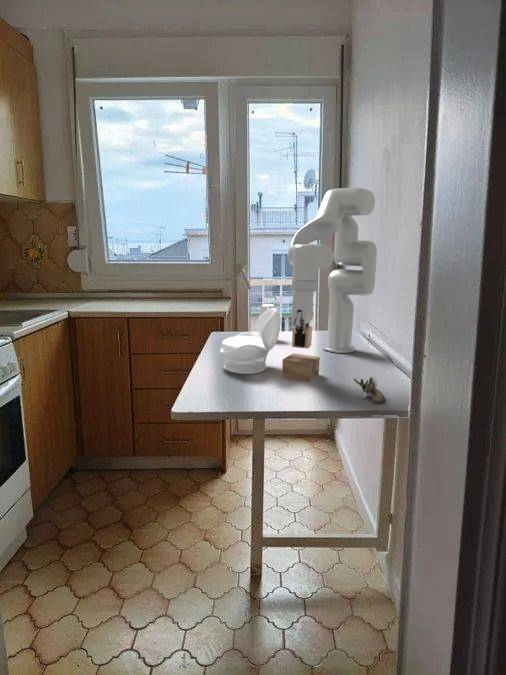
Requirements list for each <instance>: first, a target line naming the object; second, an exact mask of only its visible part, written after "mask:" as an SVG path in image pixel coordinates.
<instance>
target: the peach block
mask: <svg viewBox="0 0 506 675" xmlns="http://www.w3.org/2000/svg"><path fill="white" fill-rule="evenodd" d="M295 327H296V326H295V325H294V326H293V327H292V340H291V343H292V344H291V348H297V349H299V348H300V349H310V348H311V346H312V339H313V336H312V335H313V326H311V325H309V326H305V333H304V334H306V335H305V346H304V347H298V346H295V345H294V342H295ZM302 329H303V326H302Z"/></svg>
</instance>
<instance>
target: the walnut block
mask: <svg viewBox="0 0 506 675" xmlns="http://www.w3.org/2000/svg"><path fill="white" fill-rule="evenodd" d="M320 358H321V357H320V356H315V355H309V354H300V353H292V354H290V355H288V356H286V357H284V358H283V359H282V362H281V363H282V364H281V367H282V369H281V372H282V373H281V378H284V379H289V380H296V381H302V382H308V383H310V382H311V381H312V380H314V379H315V378H317V377H318V376H319V374H320Z"/></svg>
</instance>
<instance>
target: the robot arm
mask: <svg viewBox="0 0 506 675" xmlns="http://www.w3.org/2000/svg"><path fill="white" fill-rule="evenodd" d="M375 206H376V198H375V194H374V193H373V192H372V190H369V189H365V188H362V187H340V188H339V187H338V188H332V189H329V190H327V192H326V193H325V194H324V196H323V198H322V201H321V203H320V205H319V208H318V210H317V213H316V215H315V218H314V219H312V220H311V221H309V222H307V223H306V224H305V225H304V226H302V227H301V228H300V229H298V231H296V233H295V234H294V236H293V237H292V240H291V242H290V244H289V248H288V251H287V261H288V263H289V265H290V266H291V267H292V277H291V278H292V279H291V280H292V281H291V291H292V292H293V295H292V302H291V303H292V304H291V314H290V323H291V324H295V325H294V327H295V326H296V327H295V342H294V345H295V346H298V347H304V346H305V335H306V334H304V333H305V326H310V323H311V321H312V320H313V315H314V314H313V313H314V312H313V311H314V293H317V291H318V290H317V289H318V274H319V273H318V270H319V269H320V270H324V269H327V268H329V267H330V266H331V265H332V264H333V261H334V263H335V264H336V265H339V266H344V267H345V266H346V267H348V266H349V267H361V269H345V268H340V269H339V268H338V269H335V270H332V271H331V272H330V273H329V274H328V277H327V284H328V285H327V286H328V294H329V295H328V296H329V299H328V301H329V302H328V320H327V321H328V322H327V335H326V338H327V340H326V343H325V344H323V346H322V349H323V350H324V351H327V352H330V353H334V354H335V353H336V354H337V353H339V354H348V353H349V354H350V353H353V352H354V353H355V351H356V346H354V345H352V343H353V340H352V339H353V327H354V326H353V325H354V309H355V308H354V302H353V301H352V299H351V298H350V296H363V297H364V296H365V297H366V296H370V295H371V294H373V292H374V290H375V284H376V283H375V282H376V272H377V259H378V256H377V255H378V249H377V246H376V244H375V243H374V242H373V241H370V240H359V238H358V237H359V225H358V223H357V221H356V219H354V217H353V216H369V215H371V214H372V213H373V211H374V209H375ZM333 235H334V244H333V248H334V249H332V248H331V246H329V245H326V244H323V243H322V244H318V243H317V244H315V243H313V242H316V241H319V240H323V239H326V238H328V237H331V236H333ZM302 326H303V329H302Z"/></svg>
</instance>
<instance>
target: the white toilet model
mask: <svg viewBox="0 0 506 675" xmlns="http://www.w3.org/2000/svg"><path fill="white" fill-rule="evenodd" d="M270 312H271V313H270ZM267 313H268V314H267ZM265 314H266V315H265ZM270 314H272V315H270ZM280 314H281V313H280V312H279V310H278V309H277V308H276V309H275V308H271V309H268V310H266V311H265V312H263V313H262V314H261V315H260V314H259V317H258V319H257V320H256V330H257V332H258V335H259V337H258V336H256V335H255V334H253V333H252V332H251V333H250V332H247V331H244V332H240V333H238V334H236V335H235V336H230V337H226V338H225V339H224V340H222V342H221V348H220V349H219V351H220V354H221V355H222V358H223V360H224V365H223V369H224V370H226V371H228V372H229V373H230V372H231V373H234V374H242V375H250V374H251V375H252V374H258V373H262V372H264V371H265V370H266V369H267V363H266V362H267V361H266V360H267V358H268V354H269V352H270V351H271V350H272V349H273V348H274V347H275V346H276V344H277V342H278V340H279V335H280V329H281V328H280V327H281V323H282V322H281V320H282V319H281V315H280ZM264 315H265V316H264ZM268 315H270V316H268ZM266 316H267V317H266ZM265 317H266V318H265ZM264 319H265V320H264ZM266 319H268V320H266ZM262 321H263V322H262ZM264 322H265V323H264ZM262 323H263V324H262ZM262 328H263V329H262ZM260 337H261V338H260Z"/></svg>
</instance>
